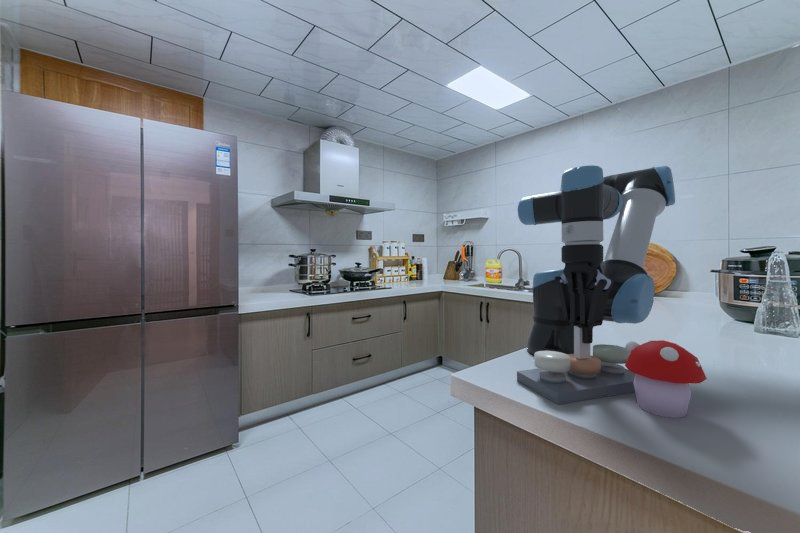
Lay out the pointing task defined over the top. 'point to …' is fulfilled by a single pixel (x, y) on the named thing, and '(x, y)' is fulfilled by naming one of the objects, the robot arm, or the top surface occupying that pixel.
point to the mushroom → (663, 376)
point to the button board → (579, 383)
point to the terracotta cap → (585, 365)
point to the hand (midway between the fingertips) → (582, 357)
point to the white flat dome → (552, 361)
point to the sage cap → (611, 353)
